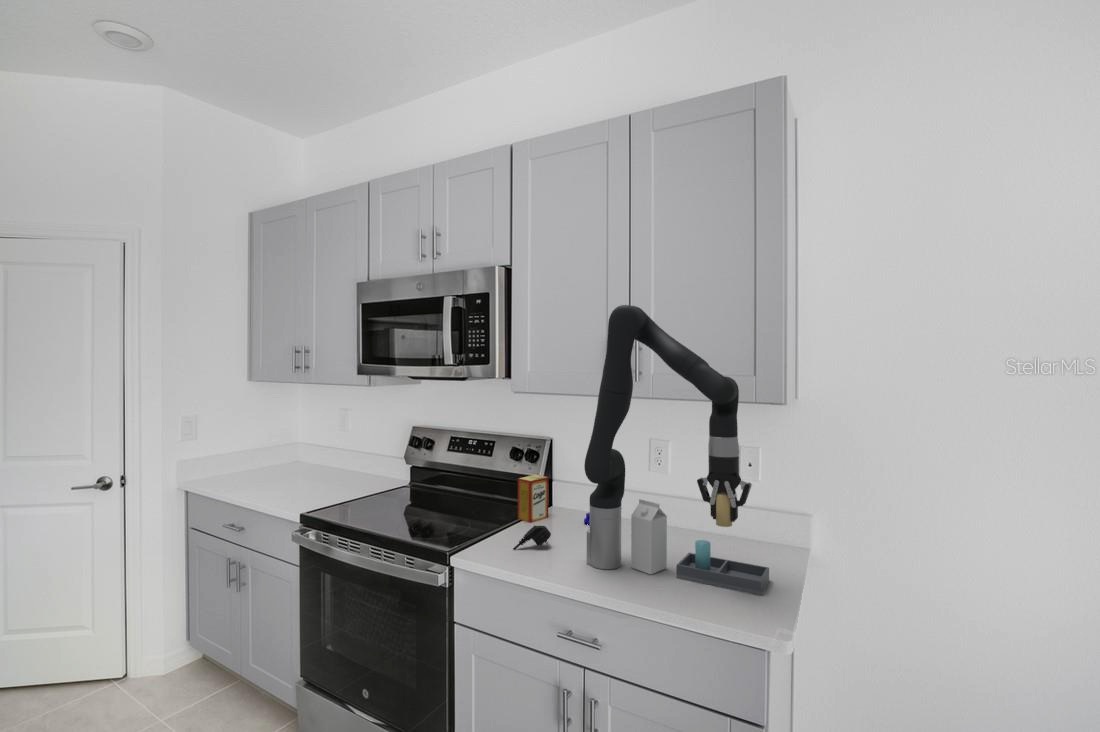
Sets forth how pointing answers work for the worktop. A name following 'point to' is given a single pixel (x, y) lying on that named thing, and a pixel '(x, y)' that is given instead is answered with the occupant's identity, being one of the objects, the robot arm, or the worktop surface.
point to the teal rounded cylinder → (702, 554)
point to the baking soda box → (532, 498)
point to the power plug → (536, 536)
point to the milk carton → (648, 538)
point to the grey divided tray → (725, 574)
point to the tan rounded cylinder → (723, 510)
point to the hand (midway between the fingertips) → (724, 519)
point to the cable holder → (587, 519)
